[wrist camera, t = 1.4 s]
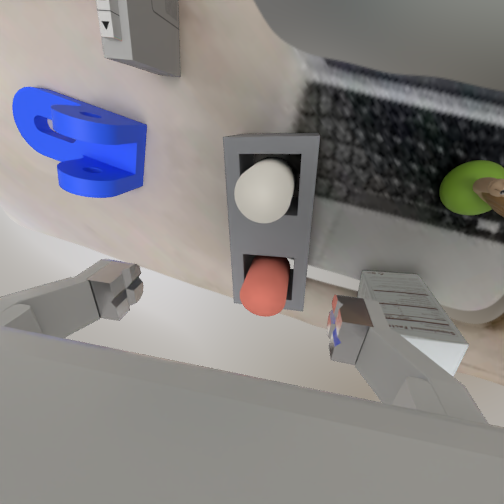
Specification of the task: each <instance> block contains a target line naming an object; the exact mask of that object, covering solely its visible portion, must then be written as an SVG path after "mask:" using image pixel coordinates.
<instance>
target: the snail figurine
mask: <svg viewBox="0 0 504 504" xmlns="http://www.w3.org/2000/svg"><path fill="white" fill-rule="evenodd" d="M439 194H440V199H441V201H442V203H443V204H444V206H445V207H446V208H448V209H449V210H451V211H452V212H455V213H458V214H462V215H477V214H481V213H485V212H487V211H490V210H492V209H493V210H494V211H495V212H497V213H498V214H500V215H501V216H503V217H504V168H503V167H502V166H500V165H499V164H497V163H494V162H491V161H485V160H477V161H471V162H467V163H464V164H461V165H459V166H457V167H456V168H454V169H453V170H451V171H450V172H449V173H448V174H447V175H446V176H445V178H444V179H443V181H442V183H441V185H440V190H439Z"/></svg>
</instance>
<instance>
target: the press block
mask: <svg viewBox="0 0 504 504" xmlns="http://www.w3.org/2000/svg"><path fill="white" fill-rule="evenodd" d="M319 141H320V135H319V134H318V133H273V134H238V135H232V136H226V137H223V145H224V160H225V175H226V190H227V205H228V220H229V235H230V250H231V265H232V280H233V295H234V303H239V304H242V302H241V300H240V290H241V287H242V285H243V283H244V280H245V278H246V275H247V273H248V271H249V268H250V266H251V264H252V261H253V259H254V257H255V256H256V255H262V256H274V257H287V258H294V269H290V275H289V282H288V289H287V296H286V303H285V306H284V308H283V309H287V310H296V311H303V307H304V296H305V286H306V276H307V265H308V255H309V245H310V234H311V224H312V214H313V203H314V193H315V183H316V172H317V162H318V152H319ZM254 154H302V155H301V170H300V185H299V197H292V199H291V203H290V206H289V208H288V210H287V212H286V213H285V214H284V215H283V216H282V217H281V218H280V219H278V220H276V221H274V222H271V223H257V222H254V221H251V220H250V219H248V218H246V217H245V216H244V215H243V214H242V213H241V212H240V210H239V209H238V207H237V205H236V202H235V196H234V191H235V186H236V183H237V181H238V179H239V177H240V176H241V175H242V174H243V173H244V172H245V171H246V170H248V169H249V168H251V167H252V166H253V165H254Z"/></svg>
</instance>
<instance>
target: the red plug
mask: <svg viewBox="0 0 504 504" xmlns="http://www.w3.org/2000/svg"><path fill="white" fill-rule="evenodd" d="M289 275H290V264H289V261H288V260H287V258H286V257H274V256H262V255H256V256H255V257H254V259H253V261H252V264H251V266H250V268H249V271H248V273H247V275H246V278H245V280H244V283H243V285H242V287H241V290H240V300H241V302H242V304H243V305H244V307H245V308H246V309H247V310H249V311H250V312H252V313H253V314H256V315H259V316H272V315H275V314H278V313H279V312H280V311H281V310H282V309H283V308H284V306H285V303H286V296H287V289H288V282H289Z"/></svg>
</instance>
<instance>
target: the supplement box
mask: <svg viewBox="0 0 504 504" xmlns="http://www.w3.org/2000/svg"><path fill="white" fill-rule="evenodd" d="M357 298H366V299H374V300H377V301H378V302H379V304H380V307H381V309H382V311H383V313H384V316H385V318H386V320H387V322H388V325H389V327H390V329H391V330H392V331H396V332H397V333H398V334H400V335H401V336H402V337H404V338H405V339H406V340H407V341H409V342H410V343H411V344H412V345H414V346H415V347H416V348H418V349H419V350H420V351H421V352H423V353H424V354H425V355H426V356H428V357H429V358H430V359H431V360H433V361H434V362H435V363H437V364H438V365H439V366H440V367H442V368H443V369H444V370H445V371H447V372H448V373H449V374H450V375H452V376H453V377H454V374H455V373H456V371H457V369H458V367H459V365H460V362H461V360H462V358H463V356H464V354H465V352H466V350H467V348H468V346H469V344H468V343H467V341H466V340H465V339H464V337H463V336H462V334H461V333H460V331H459V330H458V329H457V327H456V326H455V325H454V323H453V322H452V320H451V319H450V318H449V316H448V315H447V313H446V312H445V311H444V310H443V308H442V307H441V305H440V304H439V302H438V301H437V300H436V298H435V297H434V296H433V294H432V293H431V291H430V290H429V289H428V287H427V286H426V284H425V283H424V282H423V280H422V279H421V278H420V276H419V275H418V274H407V273H393V272H379V271H362V275H361V279H360V285H359V290H358V296H357Z"/></svg>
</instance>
